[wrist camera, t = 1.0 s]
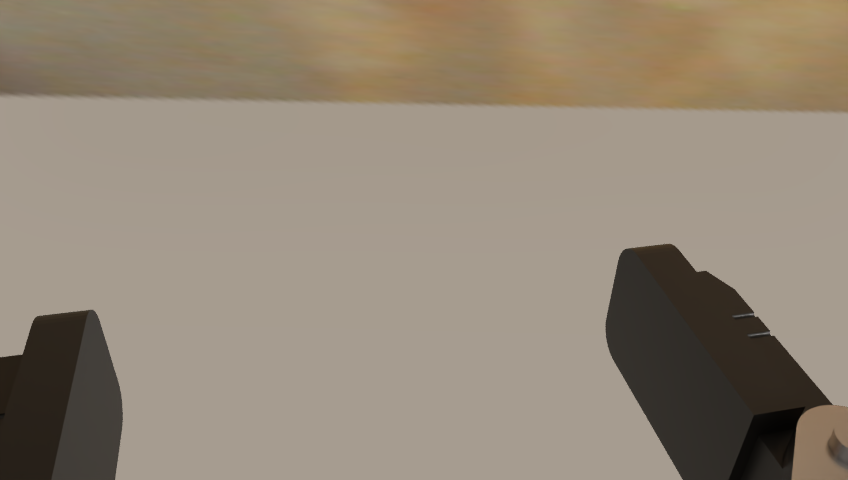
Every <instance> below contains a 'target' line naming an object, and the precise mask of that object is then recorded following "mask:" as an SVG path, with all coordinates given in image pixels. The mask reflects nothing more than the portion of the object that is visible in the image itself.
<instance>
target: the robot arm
mask: <svg viewBox="0 0 848 480" xmlns="http://www.w3.org/2000/svg"><path fill="white" fill-rule="evenodd" d="M606 338H607V343H608V347H609V351H610V353H611V356H612V358H613V360H614V362H615V363H616V365H617V367H618V369H619V370H620V372H621V374H622V375H623V377H624V379H625V381H626V382H627V384H628V386H629V388H630V389H631V391H632V393H633V394H634V396H635V398H636V400H637V401H638V403H639V405H640V406H641V408H642V410H643V412H644V414H645V415H646V416H647V419H648V420H649V422H650V424H651V425H652V427H653V429H654V431H655V432H656V434H657V436H658V438H659V439H660V441H661V443H662V445H663V446H664V448H665V450H666V451H667V453H668V455H669V456H670V458H671V460H672V462H673V463H674V465H675V467H676V469H677V470H678V472H679V474H680V476H681V477H682V479H683V480H848V407H845V406H837V405H832V403H831V402H830V401H829V400H828V399H827V398H826V396H825V395H824V394H823V393H822V392H821V390H820V389H819V388H818V387H817V386H816V385H815V383H814V382H813V381H812V380H811V379H810V378H809V376H808V375H807V374H806V373H805V372H804V371H803V369H802V368H801V367H800V366H799V365H798V363H797V362H796V361H795V360H794V359H793V358H792V356H791V355H790V354H789V353H788V352H787V350H786V349H785V348H784V347H783V346H782V345H781V343H780V342H779V341H778V340H777V339H776V338H775V336H771V335H770V330H769V329H768V328H767V327H766V326H765V325H764V323H763V322H762V321H761V320H760V319H759V318H758V317H755V316H754V312H753V310H752V309H751V308H750V307H749V306H748V305H747V304H746V302H745V301H744V300H743V299H742V298H741V296H740V295H739V294H738V293H737V292H736V290H735V289H733V288H732V287H730V286H728V285H727V284H725V283H724V282H722V281H721V280H719V279H718V278H716V277H715V276H713V275H712V274H710V273H708V272H707V271H701V272H696V271H695V269H694V268H693V267H692V266H691V264H690V263H689V262H688V261H687V260H686V258H685V257H684V256H683V255H682V253H681V252H680V251H679V250H678V249H677V248H676V247H675V246H674V245H672V244H663V245H655V246H646V247H637V248H629V249H625V250H624V251H623V252H622V253H621V255H620V257H619V260H618V265H617V270H616V275H615V279H614V284H613V289H612V294H611V299H610V304H609V309H608V313H607V319H606ZM122 415H123V412H122V399H121V392H120V387H119V383H118V380H117V377H116V373H115V370H114V367H113V363H112V360H111V357H110V354H109V350H108V347H107V344H106V341H105V337H104V334H103V331H102V327H101V324H100V321H99V318H98V316H97V314H96V312H95V311H93V310H86V311H78V312H69V313H61V314H52V315H43V316H37V317H36V318H35V319H34V321H33V323H32V326H31V329H30V333H29V336H28V339H27V342H26V346H25V349H24V352H23V355H16V356H8V357H0V480H115V474H116V468H117V461H118V453H119V446H120V439H121V431H122V420H123V417H122Z"/></svg>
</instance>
